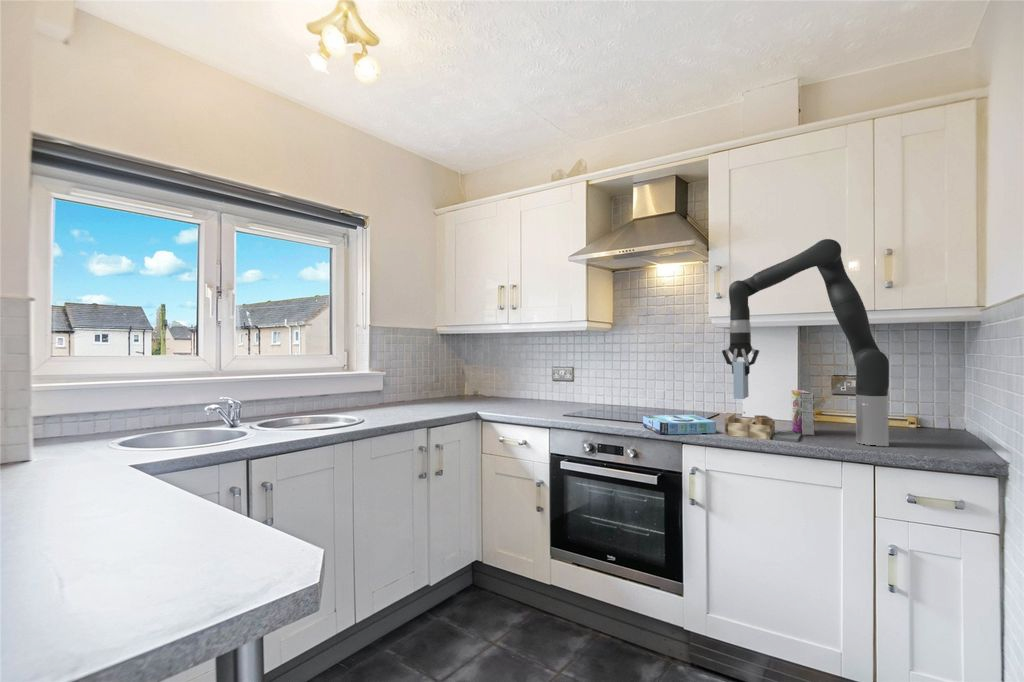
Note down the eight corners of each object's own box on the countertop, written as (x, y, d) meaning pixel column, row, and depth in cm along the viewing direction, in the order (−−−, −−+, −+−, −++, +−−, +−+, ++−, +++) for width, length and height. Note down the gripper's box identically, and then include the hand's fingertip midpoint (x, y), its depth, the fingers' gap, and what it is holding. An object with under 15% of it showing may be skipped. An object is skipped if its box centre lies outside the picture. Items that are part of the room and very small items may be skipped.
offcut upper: (765, 424, 197) (765, 415, 197) (772, 427, 189) (772, 418, 189) (754, 424, 197) (754, 415, 197) (761, 427, 189) (761, 418, 189)
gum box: (694, 425, 217) (642, 427, 216) (694, 413, 217) (642, 415, 215) (716, 433, 198) (659, 435, 196) (715, 420, 198) (659, 422, 196)
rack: (774, 433, 198) (774, 415, 198) (769, 439, 185) (769, 420, 185) (732, 429, 206) (732, 412, 206) (724, 435, 194) (724, 417, 194)
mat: (800, 436, 192) (800, 433, 192) (797, 442, 181) (797, 439, 181) (777, 433, 197) (777, 431, 197) (772, 439, 185) (772, 437, 185)
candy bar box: (790, 430, 205) (790, 390, 205) (804, 430, 204) (804, 390, 204) (800, 435, 194) (800, 392, 194) (815, 435, 193) (814, 393, 193)
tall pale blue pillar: (748, 396, 201) (747, 361, 201) (743, 399, 192) (742, 362, 192) (739, 395, 203) (738, 361, 203) (733, 398, 194) (733, 362, 194)
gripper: (761, 331, 197) (762, 375, 197) (723, 332, 205) (723, 374, 205) (758, 331, 191) (759, 376, 191) (719, 332, 199) (719, 375, 199)
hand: (740, 375), depth 198 cm, fingers closed on tall pale blue pillar, 3 cm apart
